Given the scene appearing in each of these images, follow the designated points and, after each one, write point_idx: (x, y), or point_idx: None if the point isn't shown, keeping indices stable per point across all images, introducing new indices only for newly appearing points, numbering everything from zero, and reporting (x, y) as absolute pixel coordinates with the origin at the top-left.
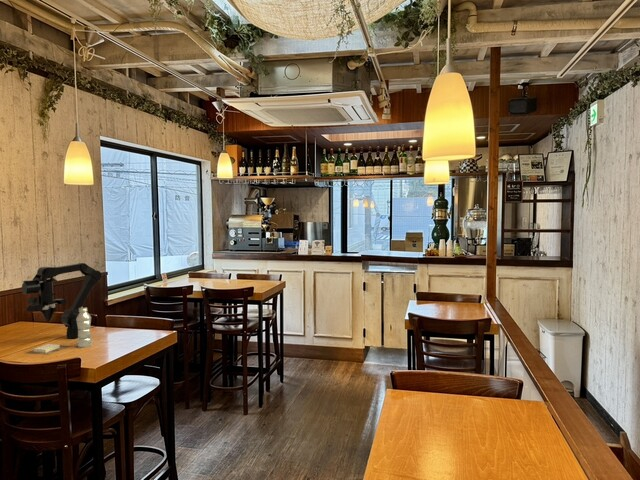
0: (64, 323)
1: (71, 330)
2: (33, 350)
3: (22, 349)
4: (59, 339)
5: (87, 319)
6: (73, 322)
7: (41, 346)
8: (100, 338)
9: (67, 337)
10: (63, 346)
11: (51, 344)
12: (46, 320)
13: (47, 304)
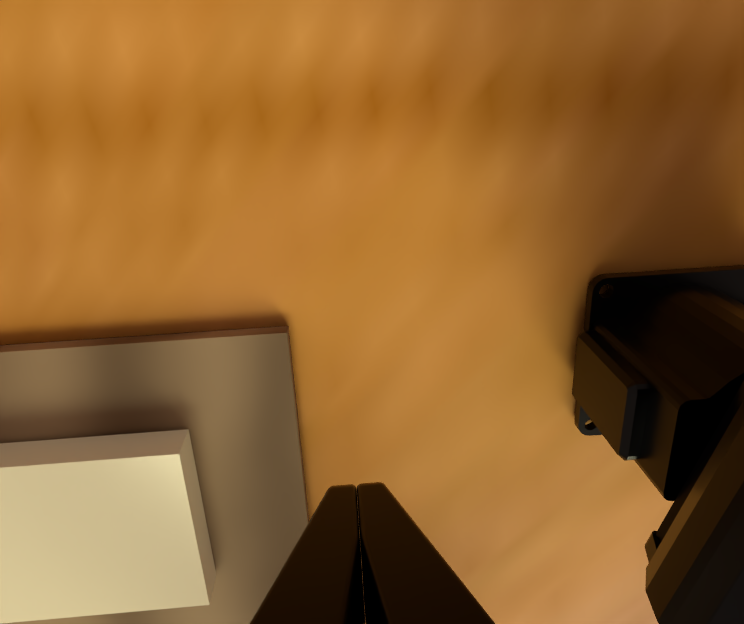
0: (715, 457)
1: (646, 471)
2: (7, 371)
3: (4, 81)
4: (600, 172)
5: None
6: None
7: (58, 474)
8: None
9: (583, 355)
10: (277, 562)
11: (180, 514)
12: (316, 516)
13: None
